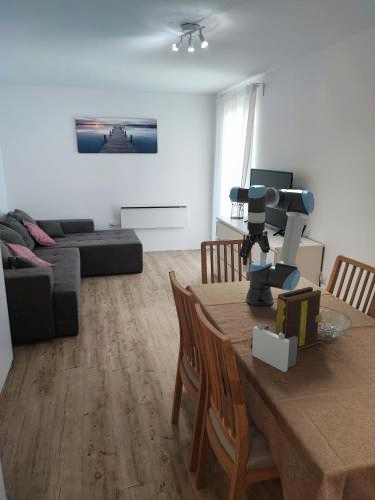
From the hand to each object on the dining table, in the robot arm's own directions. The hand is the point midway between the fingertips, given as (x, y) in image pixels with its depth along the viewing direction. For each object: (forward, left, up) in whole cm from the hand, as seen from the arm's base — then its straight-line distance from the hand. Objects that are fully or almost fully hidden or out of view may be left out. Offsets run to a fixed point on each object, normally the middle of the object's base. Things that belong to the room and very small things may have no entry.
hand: (254, 268), depth 166 cm
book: (-4, +22, -31) cm, 38 cm away
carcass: (+13, +22, -31) cm, 40 cm away
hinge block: (+8, +9, -31) cm, 33 cm away
